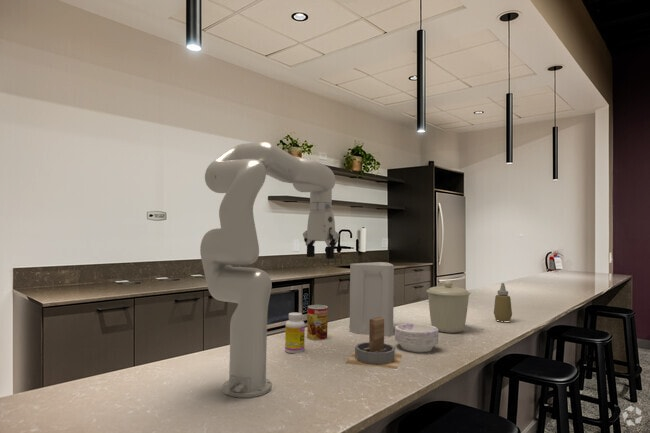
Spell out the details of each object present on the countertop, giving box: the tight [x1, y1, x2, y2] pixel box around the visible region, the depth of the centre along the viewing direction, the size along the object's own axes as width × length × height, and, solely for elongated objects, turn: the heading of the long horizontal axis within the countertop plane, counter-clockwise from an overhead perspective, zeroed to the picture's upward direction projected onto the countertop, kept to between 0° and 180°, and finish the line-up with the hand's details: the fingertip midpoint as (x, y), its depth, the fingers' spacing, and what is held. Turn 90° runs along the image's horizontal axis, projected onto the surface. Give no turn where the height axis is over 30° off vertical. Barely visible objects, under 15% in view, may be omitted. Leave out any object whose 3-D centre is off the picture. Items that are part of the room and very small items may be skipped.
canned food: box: [306, 304, 329, 341], centre depth 164 cm, size 8×8×12 cm
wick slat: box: [368, 317, 385, 352], centre depth 137 cm, size 2×4×12 cm, turn 134°
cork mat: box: [345, 350, 403, 370], centre depth 136 cm, size 16×16×1 cm
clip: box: [363, 347, 387, 353], centre depth 136 cm, size 5×6×3 cm
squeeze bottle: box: [493, 282, 513, 322], centre depth 198 cm, size 8×8×18 cm
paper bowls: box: [394, 323, 440, 353], centre depth 149 cm, size 15×15×8 cm
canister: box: [425, 280, 471, 334], centre depth 179 cm, size 18×18×21 cm
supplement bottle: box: [284, 312, 306, 354], centre depth 145 cm, size 7×7×13 cm
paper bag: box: [349, 261, 395, 337], centre depth 174 cm, size 19×15×28 cm
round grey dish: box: [354, 341, 396, 365], centre depth 136 cm, size 13×13×4 cm
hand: (320, 257), depth 145 cm, fingers open, 9 cm apart
